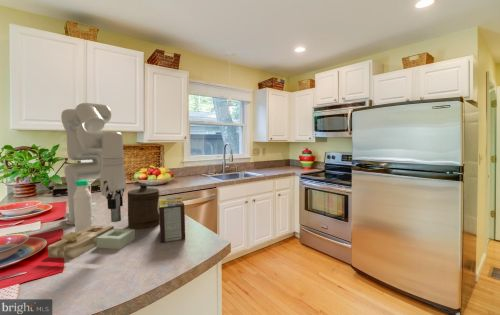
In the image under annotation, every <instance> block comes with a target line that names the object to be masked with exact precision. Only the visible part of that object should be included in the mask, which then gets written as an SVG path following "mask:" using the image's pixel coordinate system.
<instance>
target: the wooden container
mask: <svg viewBox="0 0 500 315" xmlns="http://www.w3.org/2000/svg"><path fill="white" fill-rule="evenodd" d="M159 199H160V190H159V188H153V187H148V184H147V183H145V182H142V183H140V184H139V188H136V189H132V190H129V191H128V192H127V227H128V229H133V230H135V231H137V230H138V231H139V230H146V229H147V230H148V229H152V228H154V227H157V226H160V220H159Z"/></svg>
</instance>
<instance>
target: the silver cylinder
mask: <svg viewBox="0 0 500 315" xmlns="http://www.w3.org/2000/svg"><path fill="white" fill-rule="evenodd" d="M110 194H111V195H112V193H110ZM114 199H116V209H110V222H111V223H117V222H120V221H122V217H121V216H122V213H121V206H120V194H119V193H115V198H114Z"/></svg>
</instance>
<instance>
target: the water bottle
mask: <svg viewBox="0 0 500 315" xmlns="http://www.w3.org/2000/svg"><path fill="white" fill-rule="evenodd" d="M87 186H88V187H89V181H88V180H78V181H76V187H77V190H76V191H75V194H74V196H73V199H74V216H75V225H74V226H75V229H74V232H76V233H78V232H80V231H82V230H84V229H86V228H89V227H91V226H94V223H93V222H94V220H93V218H92V216H93V201H92V193H91V192H90V189H89V190H88V188H87Z"/></svg>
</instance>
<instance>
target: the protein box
mask: <svg viewBox="0 0 500 315" xmlns="http://www.w3.org/2000/svg"><path fill="white" fill-rule="evenodd" d="M159 220H160V225H159V232H160V233H159V234H160V236H159V238H160V239H159V240H160V241H159V242H160V244H162V243H163V244H164V243H170V242H176V241H185V240H186V212H185V203H184V201H183V198H182V197H172V198H170V197H169V198H159Z"/></svg>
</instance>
